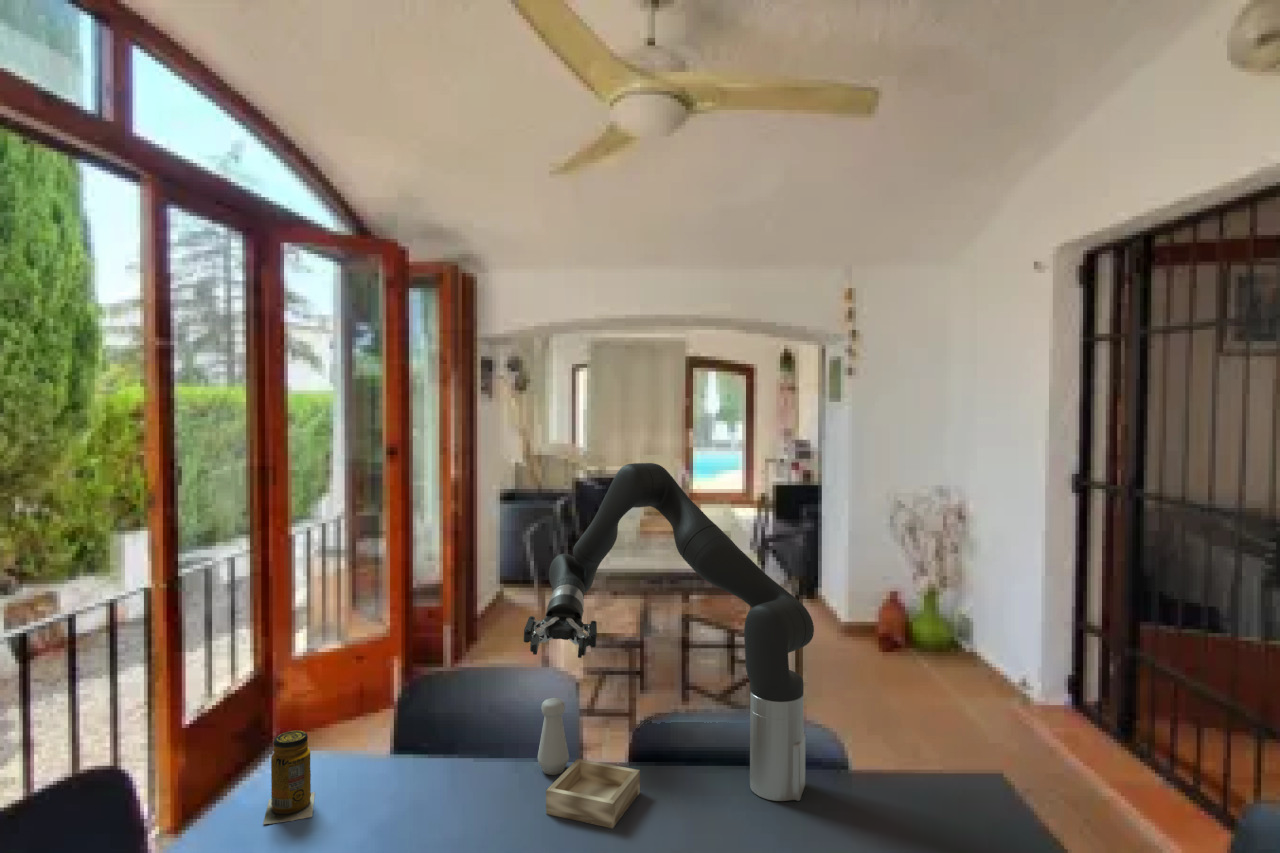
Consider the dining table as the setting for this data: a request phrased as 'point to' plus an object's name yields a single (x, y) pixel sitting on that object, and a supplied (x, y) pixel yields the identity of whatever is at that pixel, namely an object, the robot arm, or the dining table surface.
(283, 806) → the condiment
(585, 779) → the serving bin
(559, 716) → the salt shaker
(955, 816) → the dining table surface
